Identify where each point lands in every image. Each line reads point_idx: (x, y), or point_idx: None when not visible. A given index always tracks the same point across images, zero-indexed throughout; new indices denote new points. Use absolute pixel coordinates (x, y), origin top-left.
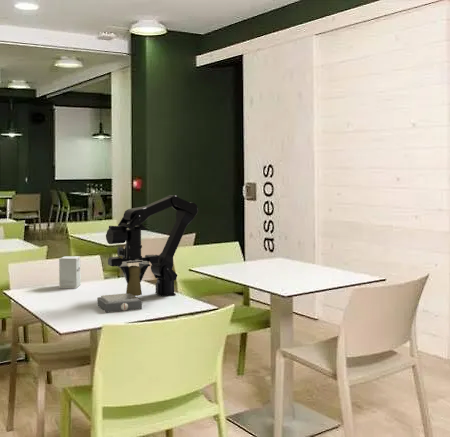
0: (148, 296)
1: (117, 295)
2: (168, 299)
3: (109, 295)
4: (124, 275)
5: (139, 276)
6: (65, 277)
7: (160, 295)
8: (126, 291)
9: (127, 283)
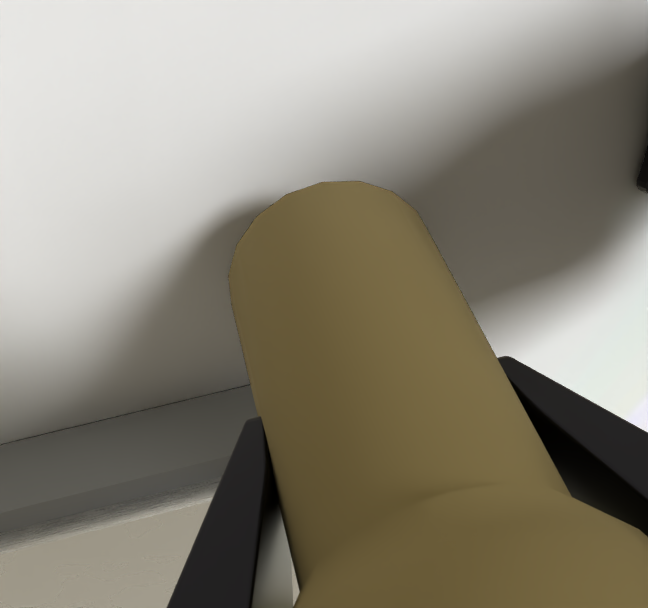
0: (527, 133)
1: (134, 557)
2: (615, 311)
3: (40, 562)
4: (185, 598)
5: (557, 461)
6: None
7: (642, 188)
8: (235, 314)
9: (257, 409)
